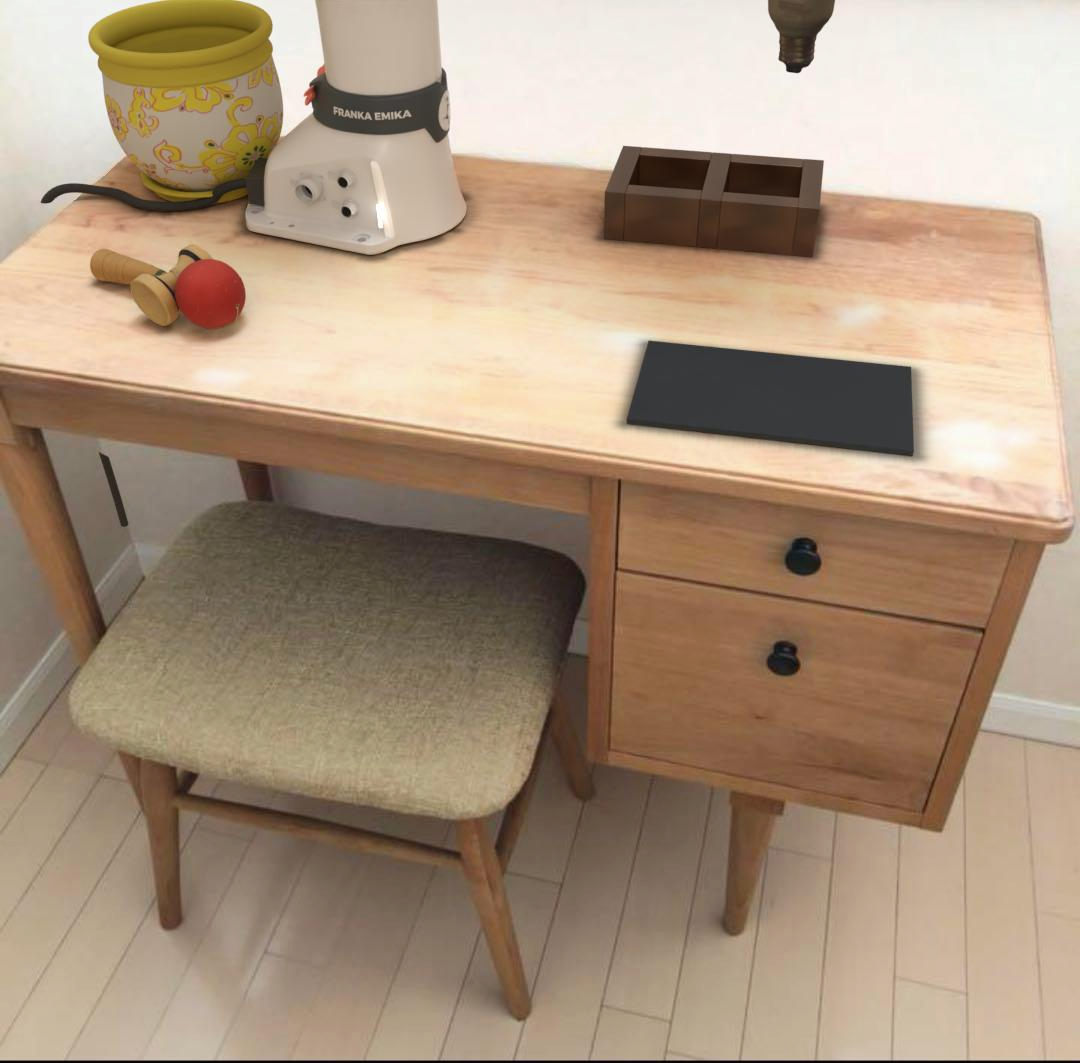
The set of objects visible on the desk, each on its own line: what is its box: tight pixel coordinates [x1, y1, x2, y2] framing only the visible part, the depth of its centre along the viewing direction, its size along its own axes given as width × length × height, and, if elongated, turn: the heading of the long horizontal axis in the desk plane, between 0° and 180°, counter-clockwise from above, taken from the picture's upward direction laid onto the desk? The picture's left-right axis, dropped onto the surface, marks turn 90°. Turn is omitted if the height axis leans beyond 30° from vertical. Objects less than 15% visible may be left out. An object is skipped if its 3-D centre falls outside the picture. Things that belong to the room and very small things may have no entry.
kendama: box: [89, 243, 247, 329], centre depth 110 cm, size 8×6×18 cm
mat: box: [626, 340, 915, 456], centre depth 99 cm, size 22×12×1 cm, turn 78°
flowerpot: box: [87, 0, 284, 205], centre depth 127 cm, size 18×18×16 cm
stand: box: [603, 145, 825, 258], centre depth 121 cm, size 20×11×5 cm, turn 78°
